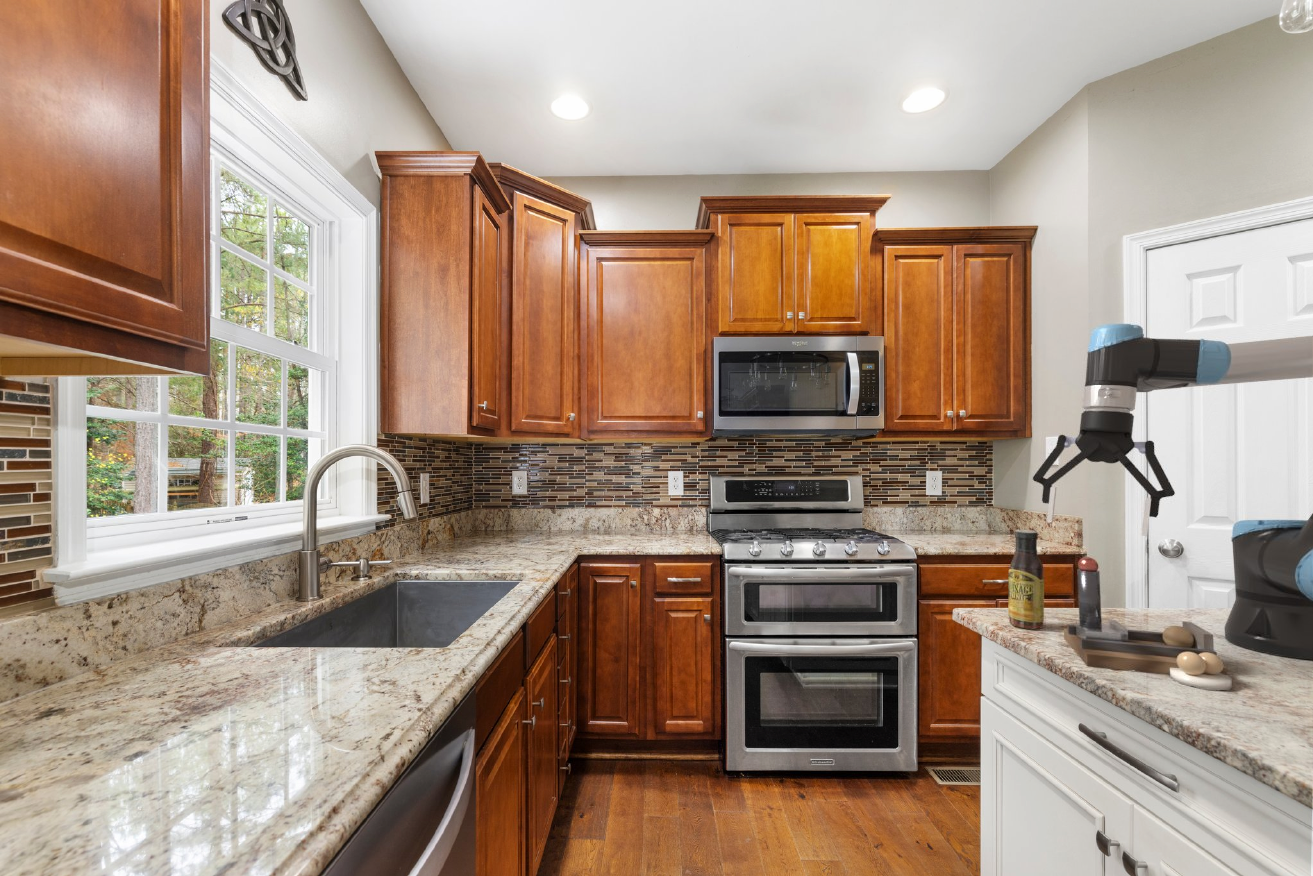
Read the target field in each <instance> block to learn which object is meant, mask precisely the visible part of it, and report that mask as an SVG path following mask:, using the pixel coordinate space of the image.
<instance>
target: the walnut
mask: <svg viewBox="0 0 1313 876" xmlns="http://www.w3.org/2000/svg"><path fill="white" fill-rule="evenodd" d="M1162 633H1163V640H1164V641H1165V643H1166V644H1167V645H1168V646H1175V647H1186V648H1191V647H1192V646H1193V644H1194V638H1193V635H1192V634H1191V633H1190V632H1189V631H1188V630H1187V629H1185V628H1183V626H1179V625H1171V626H1167V627H1166V628H1165V629H1164V630H1163V632H1162Z"/></svg>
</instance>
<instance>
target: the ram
mask: <svg viewBox="0 0 1313 876" xmlns="http://www.w3.org/2000/svg"><path fill="white" fill-rule="evenodd" d="M1077 567H1078V569H1077V593H1078V596H1077V598H1078V615H1079V616H1078V618H1079V620H1078V621H1077V620H1076V621H1075V625H1076V634H1077V635H1078V636H1079V638H1086V639H1097V640H1108V641H1119V642H1128V630H1129V629H1128V628H1126V627H1125V626H1124V625H1123V624H1121V623H1120V622H1118V620H1116V619H1108V623H1103V622H1102V621H1103V620H1102V601H1101V577H1100V570H1099V567H1100V566H1099V562H1098V561H1097V560H1096V559H1094V558H1093V557H1089V556H1084V557H1081V558H1080V559H1079V560H1078V562H1077Z"/></svg>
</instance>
